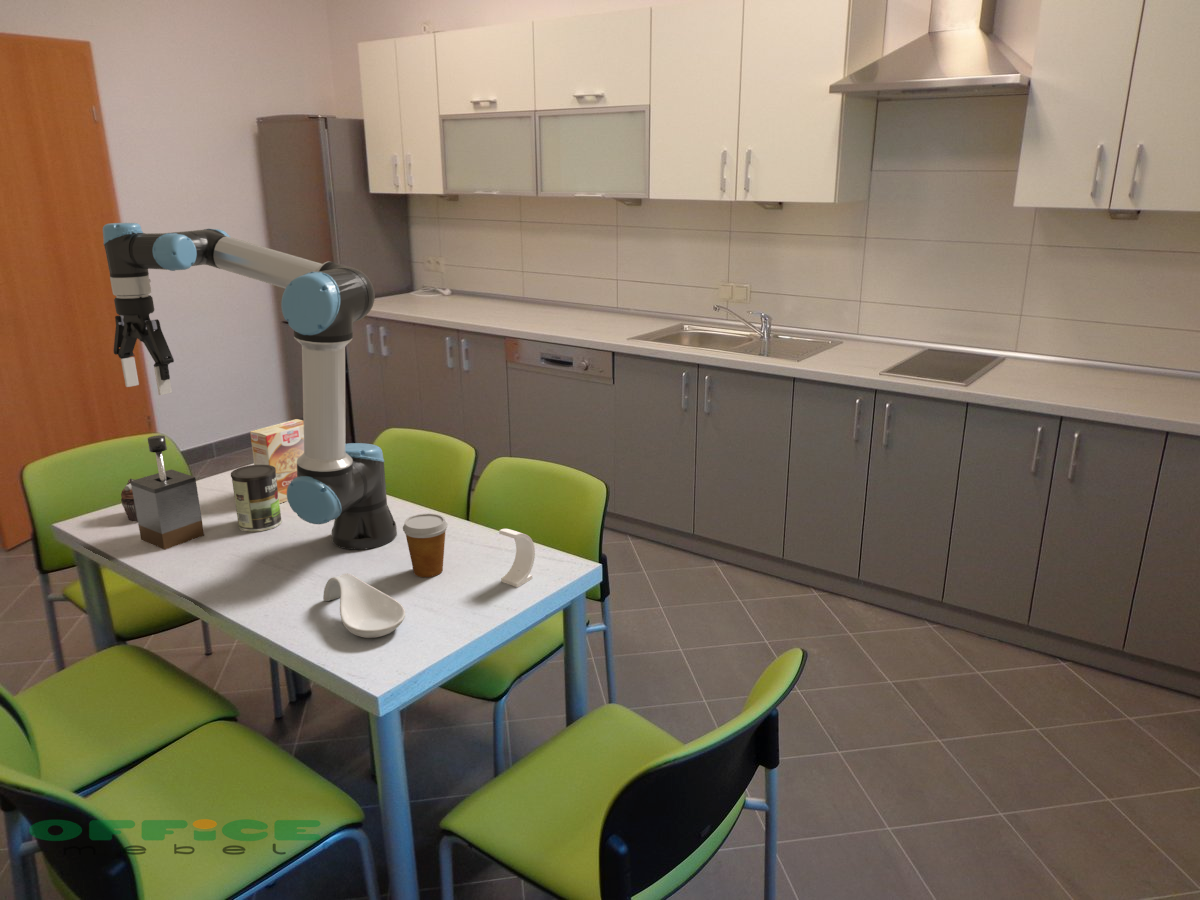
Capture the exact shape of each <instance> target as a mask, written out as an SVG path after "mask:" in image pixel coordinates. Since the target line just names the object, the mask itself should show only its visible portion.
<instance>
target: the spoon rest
mask: <svg viewBox="0 0 1200 900" xmlns="http://www.w3.org/2000/svg"><path fill="white" fill-rule="evenodd" d="M322 597H323V601H325V602H327V601H328V602H329V601H334V600H336V599H339V615H340V619H341V622H342V624H343V626H344V627H345V628H346V630H347V631H348V632H350V633H351V634H353V635H355V636H358V637H361V638H365V639H373V638H380V637H384V636H386V635H389V634H391V633H392V632H394V631H395V630H396V629H397V628H399V626H400V625H402V623H403V622H404V620H405V618H406V610H405V608H404V606H403V605H402V603H400V602H399V601H397V600H396V599H395V598H394V597H392V596H390V595H388V594H387V593H385V592H383V591H381V590H379V589H377V588H375V587H374V586H372V585H370V584H368V583H367V582H365V581H363V580H362V579H360V578H358V577H356V576H355V575H353V574H352V573H347V572H346V573H343V574H341V575H338V576H333V577H330V578H329V579H328V580H327V582H326V584H325V586H324V590H323V596H322Z"/></svg>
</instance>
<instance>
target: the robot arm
mask: <svg viewBox="0 0 1200 900" xmlns="http://www.w3.org/2000/svg"><path fill="white" fill-rule="evenodd" d="M102 237H103V238H102V240H103V243H102V244H103V246H104V251H105V255H106V261H107V267H108V271H109V272H108V273H109V280H110V285H111V291H112V295H113V296H116V297H115V298H114V299H113V300H114V308H115V313H116V314H117V315H115V317H114V318H115V332H114V343H113V354H114V355H117V356H118V358H119V359H120V362H121V367H122V368H121V369H122V373H123V378H124V384H125V385H124V386H125V387H126V388H131V387H136V386H139V385H140V382H139V377H138V371H137V366H136V365H137V364H136V358H135V353H133V352H134V350H135V346H136V343H137V340H139V341H140V342H142V343H143V344H144V347H146V350H147V352H148V353H149V355H150V357H151V358H152V359H153V361H154V364H153V368H154V374H155V379H156V387H157V393H158V396H164V395H169V394H172V393H173V389H172V384H171V377H170V370H169V369H170V368H169V365H170V364H172V363H174V361H175V360H174V356H173V354H172V352H171V350H170V347H169V345H168V343H167V340H166V338H165V336H164V333H163V331H162V327H161V322H160V320H159V319H151V318H150V314H153V313H154V312H155V304H154V300H153V299H154V298H153V296H152V295H150V294H151V293H152V288H151V284H150V283H151V282H152V281H151V279H150V277H149V269H150V270H162V271H163V270H166V271H167V270H168V271H171V272H175V271H183V270H184V271H186V270H188V269H190V268H191V267H196V266H202V265H203V266H205V265H206V266H209V267H213V268H216V269H219V270H224V271H227V272H230V273H233V274H236V275H240V276H242V277H247V278H249V279H253V280H256V281H260V282H263V283H265V284H270V285H272V286H276V287H278V288H282V289H284V291H283V293H282V295H281V296H282V297H281V301H280V302H281V313H282V317H283V318H284V320H285V321H286V322H287V323H288V324H287V325H288V326H289V327H290V328H291V329H292V330H293V339H294V340H295V341H296V342H298V343H299V344H300V345H301V367H302V368H301V371H302V373H301V374H302V409H303V410H302V411H303V412H302V418H303V419H302V420H303V422H304V453H303V454H302V455H301V456H300V457H299V458H298V459H297V477H296V478H294V479H293V480H292V481H291V483H290V484H289V486H288V488H287V499H288V501H287V502H288V504H289V507H290V509H291V510H292V511H293V512H294V513H295V514H296V515H297V516H298V517H299V518H300V519H301V520H303V521H304V522H307V523H309V524H313V525H324V524H326V523H329V522H331V521H334V522H333V526H332V528H331V532H330V534H331V541H332V543H333V544H334V545H335V546H337V547H339V548H342V549H346V550H347V549H348V550H365V549H367V550H368V549H373V548H377V547H381V546H383V545H386V544H389V543H391V541H394V539H395V538H396V537H397V536H398V531H397V530H398V529H397V524H396V523H397V522H396V521H395V519H394V517H393V515H392V513H391V510H390V507H389V504H388V498H387V487H386V476H385V475H386V473H385V459H384V454H383V450H382V448H381V447H379V446H378V445H376V444H371V443H364V442H363V443H362V442H360V443H359V442H355V443H354V442H351V443H346V347H347V345H348V344H350V343H351V341H352V340H353V339H354V337H353V336H354V335H353V333H354V331H353V327H354V324H353V323H355V322H357V321H360V320H362V319H364V318H365V317H366V316H367V315H368V314H369V313H370V311H372V308H373V307H374V304H375V299H376V297H375V296H376V295H375V288H374V286H373V285H374V284H373V283H372V281H371V280H370V278H369V277H368V276H367V275H366V274H365V273H364V272H363V271H361V270H360V269H358V268H356V267H352V266H349V265H345V264H341V263H338V262H335V261H330V260H328V261H326V262H323V263H321V262H316V261H313V260H311V259H306V258H304V257H300V256H297V255H292V254H290V253H286V252H284V251H283V252H282V251H280V250H275V249H272V248H268V247H265V246H262V245H258V244H255V243H251V242H249V241H244V240H241V239H238V238H235V237H231V235H229V234H228V233H227V232H226V231H225V230H222V229H220V228H217V229H216V228H215V229H214V228H205V229H197V230H187V231H175V232H163V233H161V232H160V233H144V232H143V229H142V226H141V224H139V223H138V222H137V223H136V222H113V223H106V224H104V225H103V227H102Z"/></svg>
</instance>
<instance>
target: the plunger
mask: <svg viewBox="0 0 1200 900" xmlns="http://www.w3.org/2000/svg"><path fill="white" fill-rule="evenodd" d="M147 444H148V450H149V453H155V457H156V458H155V460H156V463H157V464H156V465H157V470H158V473H159V478H160V482H163V481H166V480H167V479H166V473H165V471H166V469H165V462H164V455H163V452H165V451H166V450H168V447H167V442H166V436H165V435H162V434H161V435H160V434H159V435H152V436H149V437H148V438H147Z"/></svg>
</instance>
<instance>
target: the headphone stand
mask: <svg viewBox="0 0 1200 900" xmlns="http://www.w3.org/2000/svg"><path fill="white" fill-rule="evenodd" d="M498 533H499V535H502V536H506V537H509V538H512V539H514V541H515V556H514V559H513V560H514V561H513V563H512V564H511V565H512V566H511V567H510V569H509V570H508V571H507V573H506V574H505V575H504V576H502V577H501V583H504V584H507V585H510V586H513V587H515V588H518V587H520V586H522V585H524V584H526V583H527V582H529V581H531V580H533V575H532V574H531V572H532V569H533V566H534V561H535V558H536V549H535V544H534V541H533V539H532V538H531V536H529V535H528V534H525V533H522V532H519V531H516V530H513V529H511V528H502V529H499V532H498Z"/></svg>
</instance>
